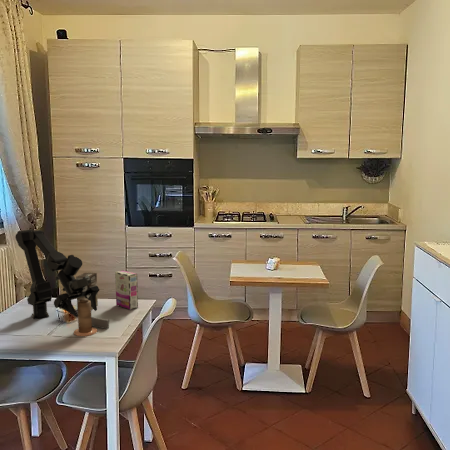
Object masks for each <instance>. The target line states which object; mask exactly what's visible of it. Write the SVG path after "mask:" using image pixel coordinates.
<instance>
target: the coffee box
mask: <svg viewBox="0 0 450 450" xmlns="http://www.w3.org/2000/svg"><path fill="white" fill-rule="evenodd" d="M97 274H98V273H97V272H83V273H81V274H79V275H77V276H76V277H75V279H79V280H80V279H83V277H85V276H89V278H90V279H91V283H89V286H85V289H84V290H83V292H84V291H86V290H87V289H88V287H91V286H95V285H96V286H98V279H97V277H98V275H97ZM83 298H85V296H84V297H80V298H76V303H77V302H78V301H80V299H83ZM96 306H97V307H98V306H99V303H98V294H97V295H96ZM76 308H77V311H76V312H78V307H76ZM92 310H94V309H93V308H92V307H91V311H92Z"/></svg>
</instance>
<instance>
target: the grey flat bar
mask: <svg viewBox="0 0 450 450" xmlns="http://www.w3.org/2000/svg"><path fill="white" fill-rule="evenodd" d="M91 318H92V327H95V328H96V327H97V328H101V329H106V330H107V329H109V328H110V319H107V318H100V317H94V316H91Z"/></svg>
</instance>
